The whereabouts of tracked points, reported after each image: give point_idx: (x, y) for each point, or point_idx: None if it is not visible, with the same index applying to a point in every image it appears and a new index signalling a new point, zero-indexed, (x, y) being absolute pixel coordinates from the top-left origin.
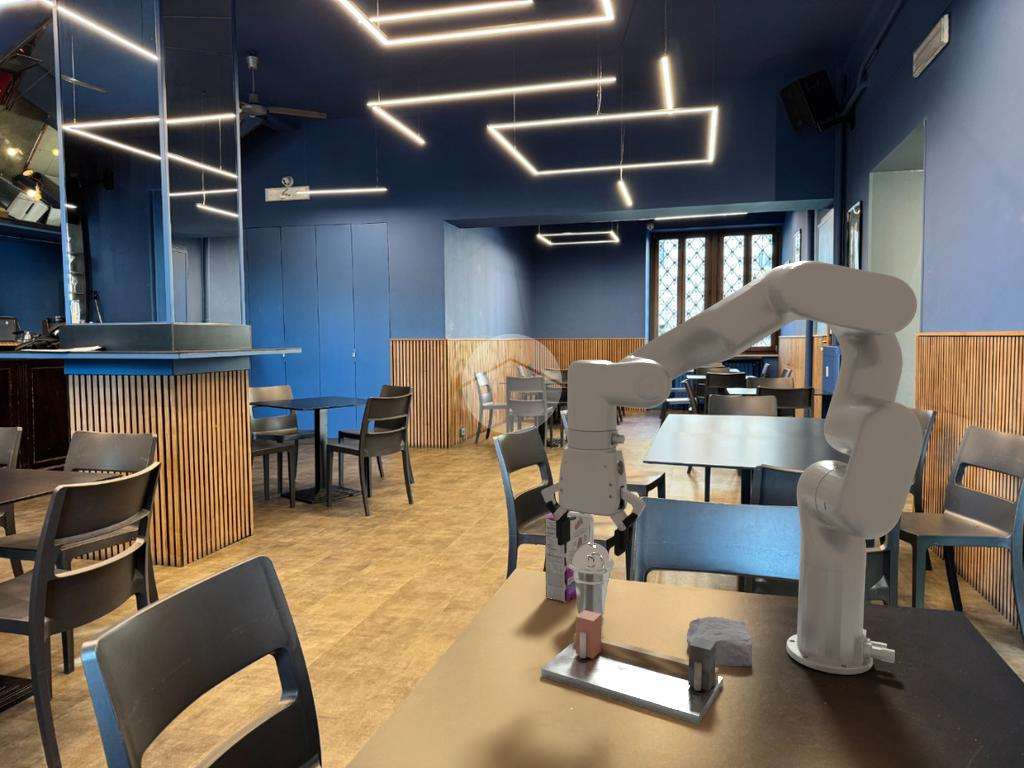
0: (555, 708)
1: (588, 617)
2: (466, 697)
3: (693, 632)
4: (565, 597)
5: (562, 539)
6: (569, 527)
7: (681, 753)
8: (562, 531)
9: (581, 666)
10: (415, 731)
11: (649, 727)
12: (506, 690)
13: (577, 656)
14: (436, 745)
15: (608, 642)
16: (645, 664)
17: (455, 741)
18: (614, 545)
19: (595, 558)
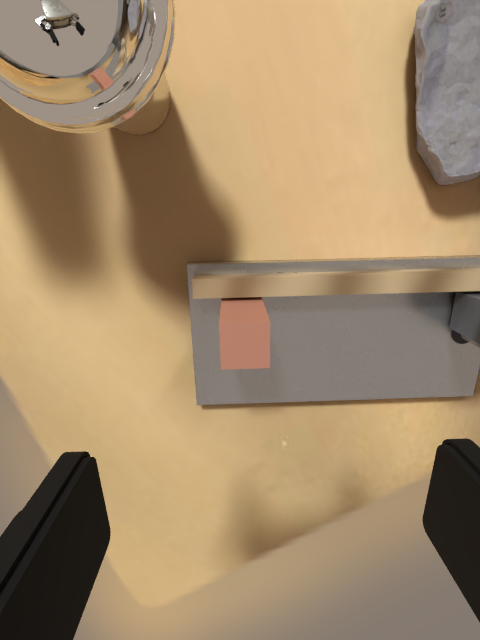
0: (264, 455)
1: (249, 356)
2: (143, 494)
3: (434, 86)
4: None
5: (98, 566)
6: (49, 546)
7: None
8: (74, 628)
9: None
10: (146, 567)
11: (399, 427)
12: (177, 454)
13: None
14: (185, 572)
15: (275, 290)
16: None
17: (198, 558)
18: (457, 581)
19: (98, 51)
